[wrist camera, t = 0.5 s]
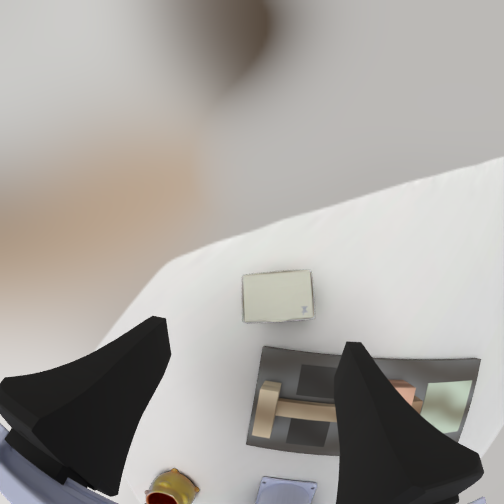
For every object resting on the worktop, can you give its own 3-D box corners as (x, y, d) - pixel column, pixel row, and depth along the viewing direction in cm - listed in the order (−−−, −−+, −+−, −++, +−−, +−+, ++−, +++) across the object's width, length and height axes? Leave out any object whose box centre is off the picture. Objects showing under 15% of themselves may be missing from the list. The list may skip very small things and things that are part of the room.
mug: (177, 463, 32) (157, 481, 25) (207, 491, 30) (192, 513, 23) (137, 484, 31) (117, 500, 25) (164, 510, 29) (147, 528, 23)
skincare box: (311, 282, 34) (315, 267, 23) (313, 317, 33) (319, 319, 22) (260, 286, 35) (239, 273, 24) (262, 320, 34) (241, 324, 23)
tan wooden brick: (403, 432, 26) (413, 444, 22) (257, 422, 30) (251, 435, 26) (415, 391, 27) (427, 399, 23) (265, 380, 31) (260, 388, 27)
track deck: (452, 443, 25) (469, 458, 19) (248, 440, 31) (238, 459, 25) (475, 358, 27) (498, 362, 21) (264, 346, 34) (256, 352, 28)
